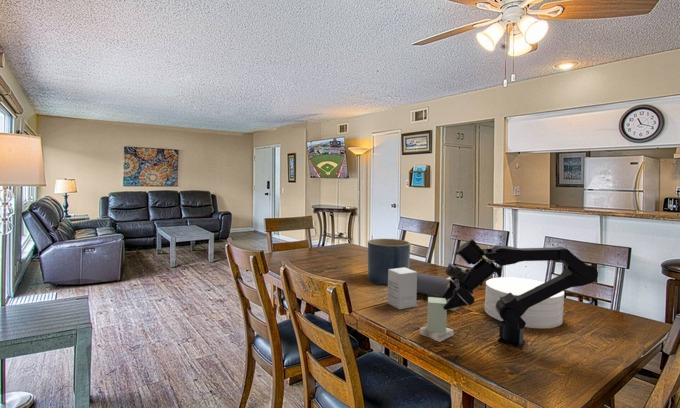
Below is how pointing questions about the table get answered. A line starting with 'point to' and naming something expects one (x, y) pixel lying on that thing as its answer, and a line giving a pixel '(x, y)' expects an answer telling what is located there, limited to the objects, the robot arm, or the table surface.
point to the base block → (436, 334)
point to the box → (446, 289)
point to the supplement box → (402, 288)
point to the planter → (386, 258)
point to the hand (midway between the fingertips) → (442, 304)
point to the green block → (436, 315)
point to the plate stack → (536, 315)
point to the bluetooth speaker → (431, 285)
